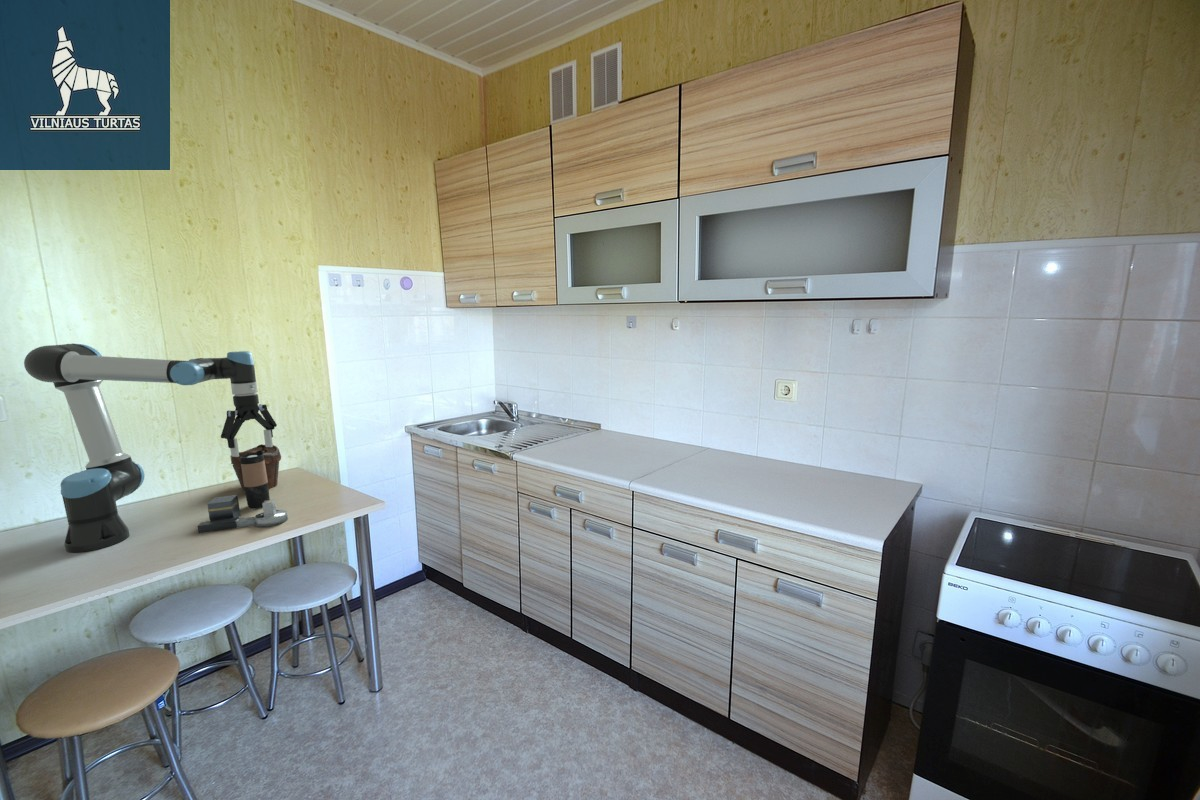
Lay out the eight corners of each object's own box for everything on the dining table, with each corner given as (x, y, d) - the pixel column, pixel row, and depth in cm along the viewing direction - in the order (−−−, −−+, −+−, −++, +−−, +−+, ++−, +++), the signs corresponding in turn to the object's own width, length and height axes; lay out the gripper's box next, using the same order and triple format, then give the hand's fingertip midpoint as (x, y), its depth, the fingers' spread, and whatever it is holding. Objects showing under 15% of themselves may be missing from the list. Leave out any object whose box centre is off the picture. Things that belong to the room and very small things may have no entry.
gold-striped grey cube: (210, 525, 179) (206, 504, 178) (217, 518, 186) (214, 497, 184) (234, 522, 182) (230, 501, 180) (240, 515, 188) (237, 494, 187)
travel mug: (275, 501, 201) (268, 452, 198) (260, 509, 194) (253, 458, 191) (257, 501, 202) (250, 452, 199) (242, 508, 195) (234, 458, 191)
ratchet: (194, 537, 170) (190, 515, 169) (206, 525, 179) (202, 505, 178) (283, 524, 178) (281, 504, 177) (290, 514, 188) (288, 495, 186)
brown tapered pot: (281, 476, 234) (275, 438, 230) (288, 487, 218) (282, 446, 215) (233, 486, 223) (226, 446, 219) (238, 498, 207) (230, 455, 204)
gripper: (219, 400, 172) (228, 461, 175) (283, 389, 195) (289, 443, 199) (202, 399, 174) (211, 460, 177) (267, 389, 197) (274, 442, 201)
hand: (252, 451), depth 188 cm, fingers open, 13 cm apart
